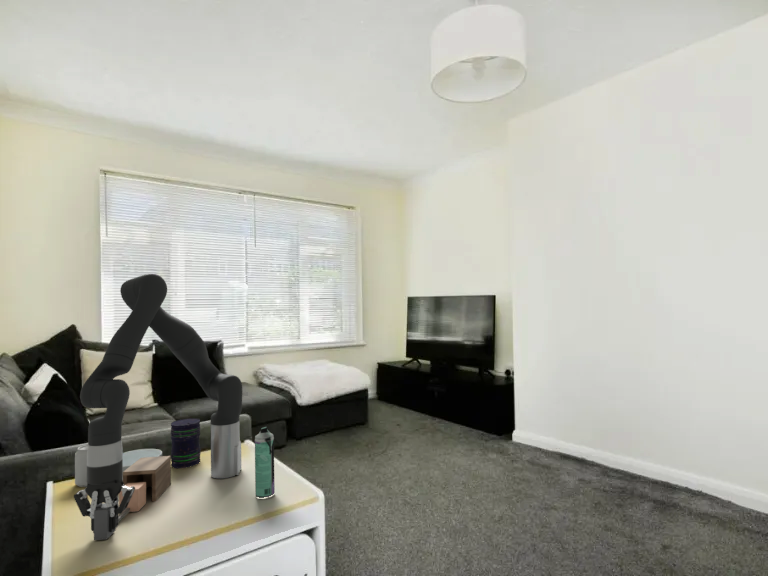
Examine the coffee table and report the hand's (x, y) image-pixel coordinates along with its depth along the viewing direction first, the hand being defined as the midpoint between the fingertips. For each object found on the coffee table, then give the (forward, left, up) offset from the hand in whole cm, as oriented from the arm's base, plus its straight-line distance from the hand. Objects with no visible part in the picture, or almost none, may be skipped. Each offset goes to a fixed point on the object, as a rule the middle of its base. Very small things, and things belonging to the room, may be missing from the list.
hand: (104, 530), depth 107 cm
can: (+23, -37, -2) cm, 44 cm away
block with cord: (0, -8, -1) cm, 8 cm away
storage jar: (-3, -50, -2) cm, 50 cm away
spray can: (-36, -17, -2) cm, 40 cm away
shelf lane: (0, -25, -1) cm, 25 cm away
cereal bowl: (+10, -39, -2) cm, 40 cm away
